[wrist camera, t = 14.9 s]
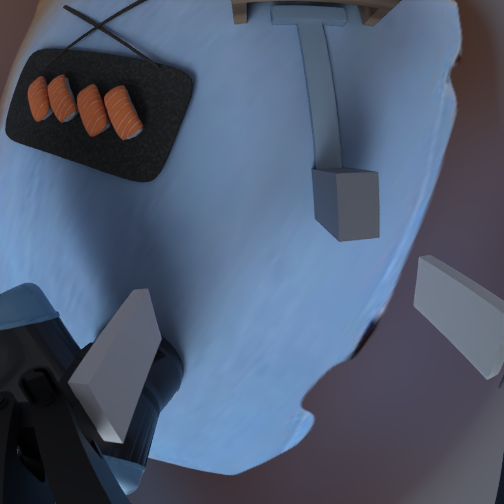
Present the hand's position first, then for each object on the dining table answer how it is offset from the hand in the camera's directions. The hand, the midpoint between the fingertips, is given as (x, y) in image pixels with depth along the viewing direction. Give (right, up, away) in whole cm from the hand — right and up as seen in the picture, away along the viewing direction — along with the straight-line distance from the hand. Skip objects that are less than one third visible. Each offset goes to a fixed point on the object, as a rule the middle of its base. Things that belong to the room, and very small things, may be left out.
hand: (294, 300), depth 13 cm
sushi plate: (-21, +28, +15) cm, 38 cm away
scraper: (+6, +19, +18) cm, 27 cm away
